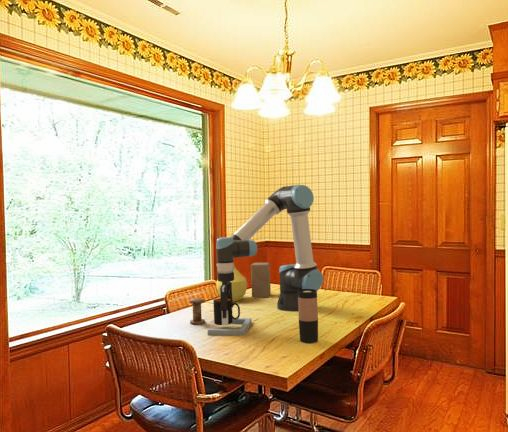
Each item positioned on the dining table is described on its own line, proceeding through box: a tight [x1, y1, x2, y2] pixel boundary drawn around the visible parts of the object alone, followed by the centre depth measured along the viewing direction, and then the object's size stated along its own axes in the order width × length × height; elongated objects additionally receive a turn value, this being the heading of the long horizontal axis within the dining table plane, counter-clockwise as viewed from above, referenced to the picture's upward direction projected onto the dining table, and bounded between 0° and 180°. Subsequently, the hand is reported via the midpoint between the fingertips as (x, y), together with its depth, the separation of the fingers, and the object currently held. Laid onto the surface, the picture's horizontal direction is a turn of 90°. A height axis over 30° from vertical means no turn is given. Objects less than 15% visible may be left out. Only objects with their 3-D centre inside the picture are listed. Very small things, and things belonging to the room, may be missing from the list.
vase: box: [216, 265, 248, 302], centre depth 247 cm, size 18×18×30 cm
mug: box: [212, 297, 241, 326], centre depth 188 cm, size 8×12×10 cm
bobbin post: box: [189, 297, 206, 326], centre depth 199 cm, size 7×7×11 cm
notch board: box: [207, 317, 253, 336], centre depth 188 cm, size 16×20×2 cm
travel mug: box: [297, 289, 319, 344], centre depth 167 cm, size 8×8×20 cm
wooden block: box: [250, 262, 272, 299], centre depth 256 cm, size 10×10×20 cm
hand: (227, 322), depth 188 cm, fingers closed on mug, 8 cm apart
